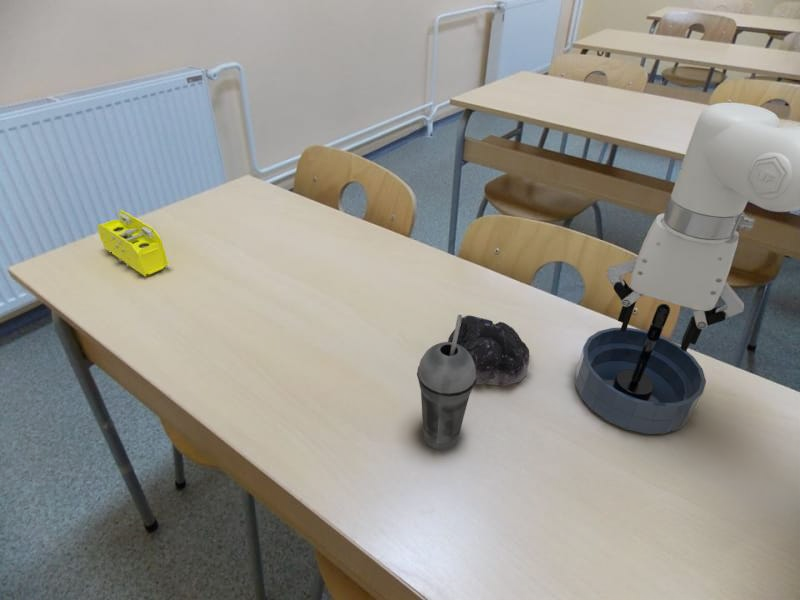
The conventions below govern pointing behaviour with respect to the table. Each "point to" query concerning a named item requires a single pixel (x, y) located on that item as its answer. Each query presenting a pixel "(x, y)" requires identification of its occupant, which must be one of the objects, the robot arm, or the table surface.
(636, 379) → the disc-capped black rod
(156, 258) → the yellow toy chassis
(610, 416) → the bowl
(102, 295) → the table surface
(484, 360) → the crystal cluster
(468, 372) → the beverage cup
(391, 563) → the table surface
